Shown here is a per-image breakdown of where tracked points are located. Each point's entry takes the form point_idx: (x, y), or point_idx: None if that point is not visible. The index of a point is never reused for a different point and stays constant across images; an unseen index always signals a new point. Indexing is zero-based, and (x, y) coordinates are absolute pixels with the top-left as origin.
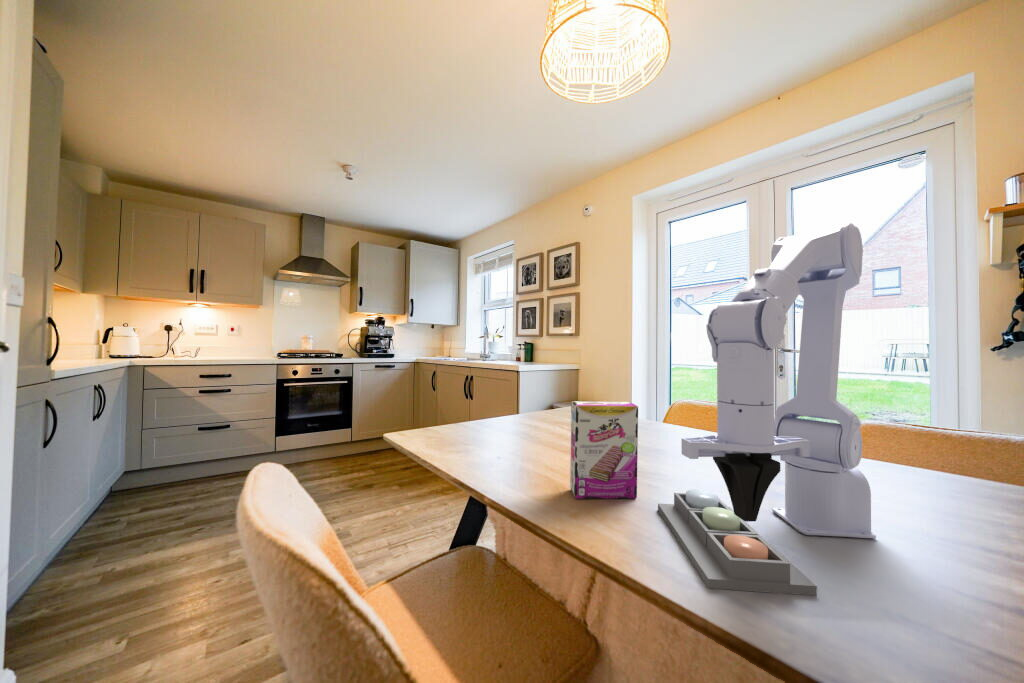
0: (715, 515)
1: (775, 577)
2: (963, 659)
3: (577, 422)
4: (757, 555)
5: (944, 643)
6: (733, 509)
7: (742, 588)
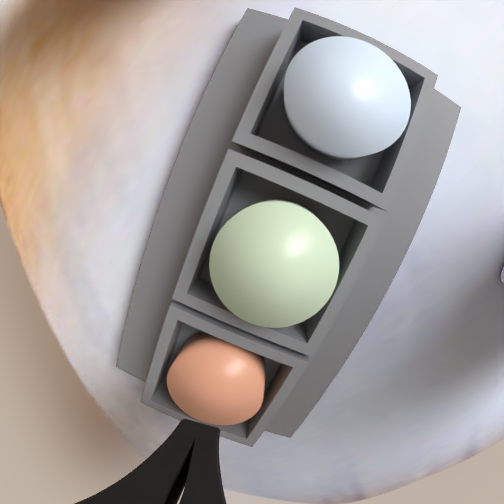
0: (241, 273)
1: None
2: (322, 496)
3: None
4: (204, 421)
5: (335, 487)
6: (177, 426)
7: None
